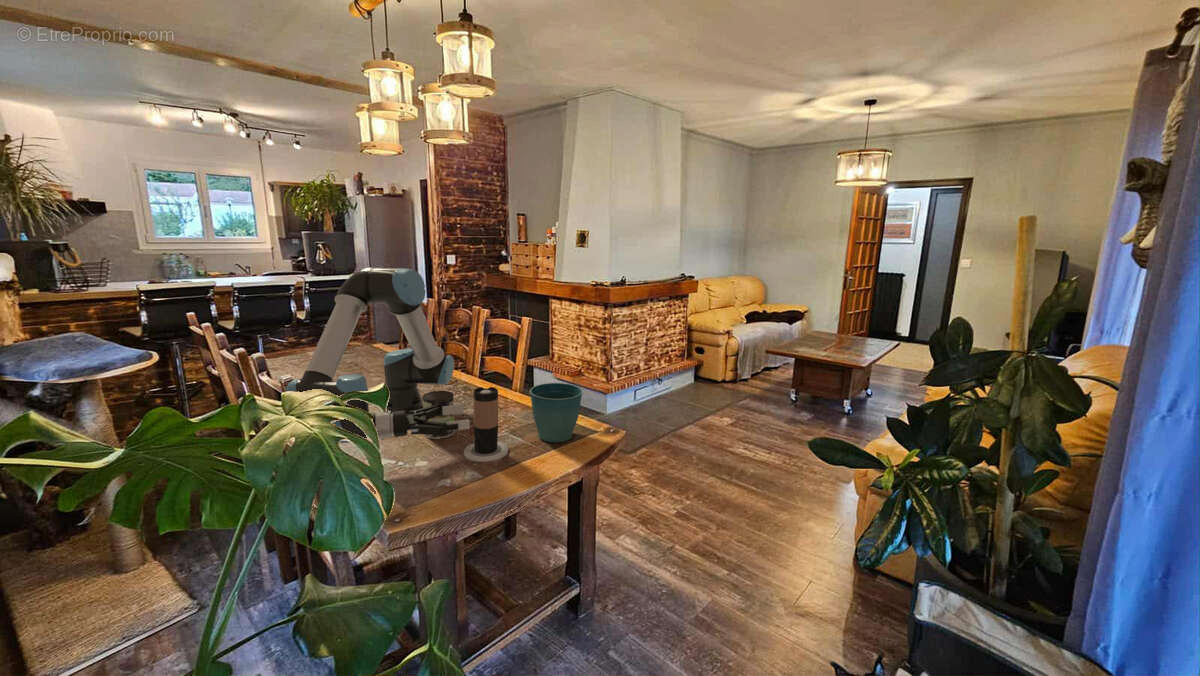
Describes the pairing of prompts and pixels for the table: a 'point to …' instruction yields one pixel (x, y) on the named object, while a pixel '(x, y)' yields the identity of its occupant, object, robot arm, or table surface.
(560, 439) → the flower pot
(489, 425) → the travel mug
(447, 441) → the table surface
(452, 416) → the coffee can
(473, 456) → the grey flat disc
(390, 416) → the robot arm
